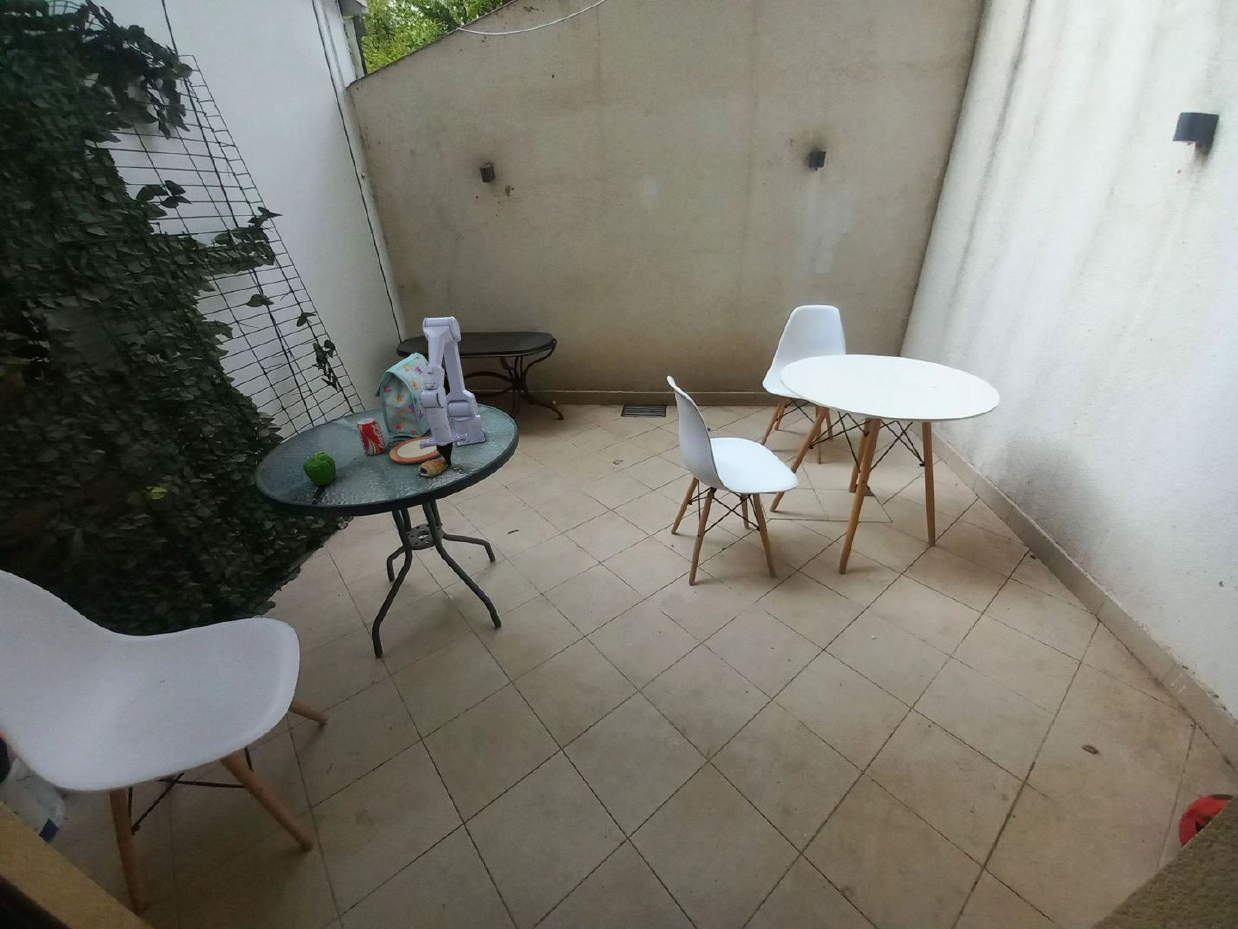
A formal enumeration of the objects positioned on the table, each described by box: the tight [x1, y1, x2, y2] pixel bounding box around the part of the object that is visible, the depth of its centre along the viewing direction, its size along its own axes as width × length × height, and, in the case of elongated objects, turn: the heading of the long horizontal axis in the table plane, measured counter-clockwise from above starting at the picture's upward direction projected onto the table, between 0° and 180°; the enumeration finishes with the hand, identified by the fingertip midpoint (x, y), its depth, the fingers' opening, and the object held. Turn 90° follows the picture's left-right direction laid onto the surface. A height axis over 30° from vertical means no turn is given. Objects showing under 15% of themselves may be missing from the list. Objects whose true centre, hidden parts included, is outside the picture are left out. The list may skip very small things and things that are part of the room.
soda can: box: [356, 416, 387, 456], centre depth 167 cm, size 7×7×12 cm
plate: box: [389, 436, 441, 465], centre depth 167 cm, size 19×19×2 cm
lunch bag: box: [374, 352, 431, 439], centre depth 181 cm, size 23×16×27 cm
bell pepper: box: [302, 450, 337, 486], centre depth 150 cm, size 8×8×10 cm
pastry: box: [417, 457, 449, 478], centre depth 154 cm, size 9×7×4 cm
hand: (449, 463), depth 155 cm, fingers closed
